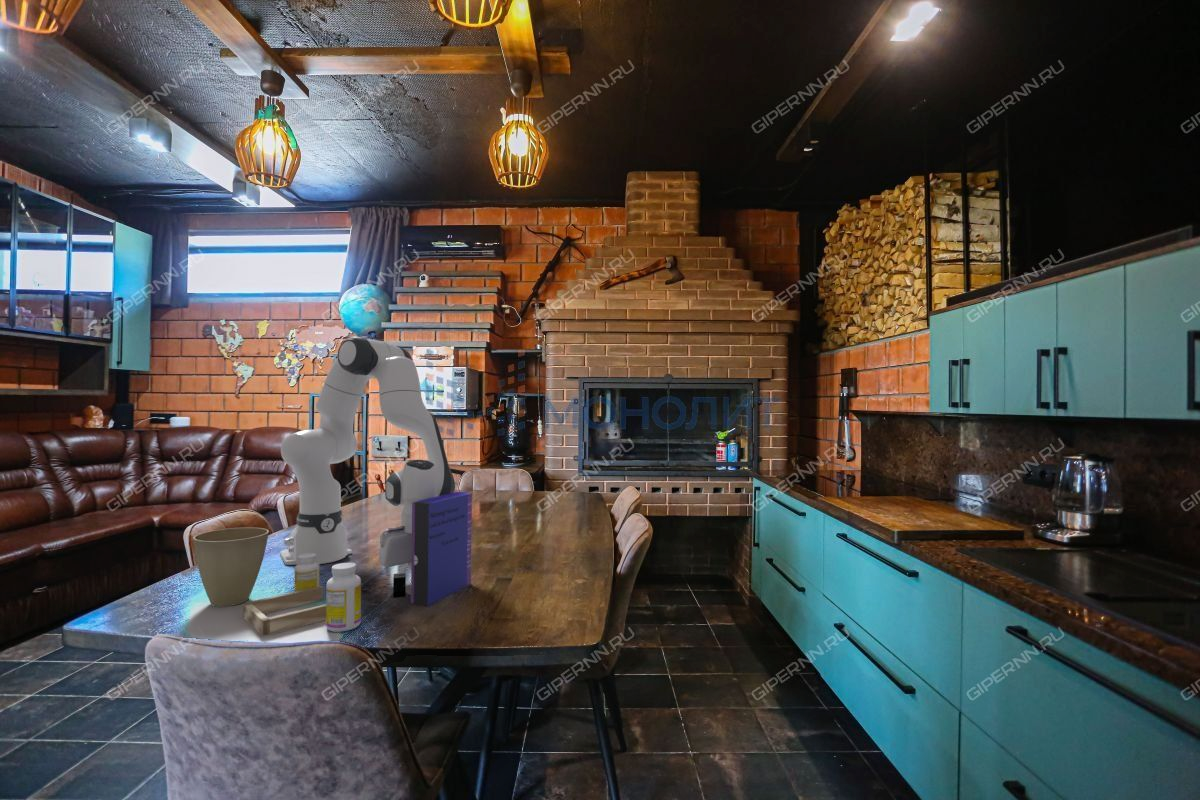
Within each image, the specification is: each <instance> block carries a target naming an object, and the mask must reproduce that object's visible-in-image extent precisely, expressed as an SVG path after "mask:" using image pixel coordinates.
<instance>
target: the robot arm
mask: <svg viewBox="0 0 1200 800" xmlns="http://www.w3.org/2000/svg"><path fill="white" fill-rule="evenodd" d="M371 379H376V380H377V382H378V387H379V388H378V391H379V396H378V397H379V406H380V411H381V412H380V413H381V414H382V417H383V418H384V419H385V420H386V421H387V422H388V423H389V424H391V425H393V426H394V427H397V428H399V429H402V430H405V431H408V432H410V433H413V434H414V435H417V436H418V437H419V438H420V439H421V440H422V442H423V444H424V447H425V451H426V454H427V455H426V456H427V459H428V460H426V459H425V460H424V459H412V460H409V461H406V462H405V463H404V465H403V468H402V469H400V470H397V471H395V472H394V471H393V472H392V473H391V474H390V475H389V476H388V477H387V479H386V480H385V483H384V485H385V486H384V495H385V497H384V498H385V500H387V502H388V503H390V504H391V505H392V506H394V507H402V509H401V526H396V527H393V528H392V527H391V528H386V529H385V530H384V531H383V532H382V533H381V534H380V537H379V539H380V540H379V545H380V546H379V553H378V562H379V564H380V565H381V566H383V567H384V568H391V567H396V566H401V565H405V564H407V565H408V567H409V569H410V570H411V559H412V502H417V501H421V500H425V499H429V498H433V497H437V496H442V495H446V494H450V493H454V492H456V481H455V479H454V475H453V472H452V471H451V467H450V466H449V462H448V458H447V454H446V449H445V447H444V442H443V439H442V436H441V431H440V427H439V424H438V422H437V419H436V417H435V415H434V414H433V413H431V412H430V411H429V410H428V409H427V407H426V404H425V403H424V401H423V397H422V389H421V382H420V378H419V373H418V370H417V366H416V364H415V362H414V361H413V357H412V356H411V353H410V352H409V351H408V350H406V348H403V347H402V346H400V345H395V344H393V343H389V342H387V341H383V340H380V339H379V340H377V339H373V338H365V337H364V336H350V337H347V338H345V339H344V340H343V341H342V342H341V343H340V345H339V346H338V350H337V357H336V359H335V360H334V361H333V364H332V365H331V367H330V369H329V371H328V372H327V375H326V377H325V380H324V382H323V385H322V387H321V390H320V393H319V395H318V398H317V400H316V403H315V408H316V411H317V412H318V414H319V415H320V421H319V426H318V428H316V429H302V430H300V431H299V430H298V431H296V432H294V433H291V434H288V435H287V436H286V437H285V438H284V439H283V440H282V442H281V444H280V455H281V458H282V459H283V461H284V463H286V464H287V465H288V466H289V467H290V468H291V469H292V471H293V472H294V475H295V477H296V480H297V483H298V490H299V491H298V493H299V495H298V496H299V512H298V513H297V516H296V526H295V528H294V529H293V531H292V532H291V533H290V534H289V537H288V538H284V542H283V544H284V546H285V547H288V548H285V549H283V550H280V552H279V555H280V557H281V559H282V561H283V564H284V565H286V566H293V565H295V566H296V565H298V564H299V563H298V556H299V555H301V554H306V553H315V554H316V561H315V562H317V563H318V564H319V565H323V564H328V563H329V564H330V563H333V562H337V561H340V560H342V559H344V558H346V556H348V555H351V554H352V553H353V551H352V549H350V548H348V534H347V533H348V532H347V527H346V526H345V525H343V523H342V521H343V510H342V509H341V508H342V507H341V501H342V500H341V495H342V494H341V493H342V490H341V489H342V486H341V484H340V482H339V481H338V480H337V479H335V478H334V476H333V474H332V470H331V465H333V464H339V463H342V462H344V461H346V460H348V459H351V458H352V457H353V456H354V455H355V453H356V452H357V449H358V439H357V437H356V435H355V434H354V422H355V416H356V415H357V410H358V408H359V406H360V402H361V400H362V397H363V394H364V392H365V389H366V386H367V383H368V382H369V380H371Z"/></svg>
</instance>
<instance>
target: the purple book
mask: <svg viewBox="0 0 1200 800" xmlns="http://www.w3.org/2000/svg"><path fill="white" fill-rule="evenodd" d="M472 511H473V493H472V492H468V491H455V492H454V493H450V494H446V495H442V496H437V497H433V498H429V499H425V500H421V501H417V502H412V559H411V569H410V570H411V571H410V572H411V575H410V578H411V580H410V582H411V583H410V584H411V596H410V605H413V606H420V607H426V608H428V607H430V606H432V605H435V604H436V603H438V602H440V601H442V600H443V599H446V598H448V597H450V596H451V595H453V594H455V593H457V592H459V591H461V590H463V589H465V588H467V587H469V586H471V585H472V528H473V527H472V523H473V522H472V520H473V519H472V518H473V514H472V513H473V512H472Z"/></svg>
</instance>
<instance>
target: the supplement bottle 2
mask: <svg viewBox="0 0 1200 800" xmlns="http://www.w3.org/2000/svg"><path fill="white" fill-rule="evenodd" d="M356 571H357V564H356V563H354V562H342V563H336V564H334V565H332V567H331V574H332V577H330V578H329V579H328V580H327V582H326V588H325V589H326V592H325V593H326V595H325V597H326V603H325V604H326V620H325V621H326V623H325V625H326V629H327V630H329V631H331V632H334V633H343V632H347V631H351V630H354V629H355V628H357V627H358V626H360V624H361V622H362V578H361V577H360V576H359V575H357V574H356Z"/></svg>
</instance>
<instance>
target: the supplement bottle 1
mask: <svg viewBox="0 0 1200 800" xmlns="http://www.w3.org/2000/svg"><path fill="white" fill-rule="evenodd" d="M315 561H316V554H315V553H306V554H301V555H299V556H298V563H299V564H295V567H294V592H296V591H301V590H305V589H310V588H314V587H319V586H321V585H320V580H321V579H320V578H321V577H320V576H321V575H320V572H321V571H320V564H318V563H317V562H315Z"/></svg>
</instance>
